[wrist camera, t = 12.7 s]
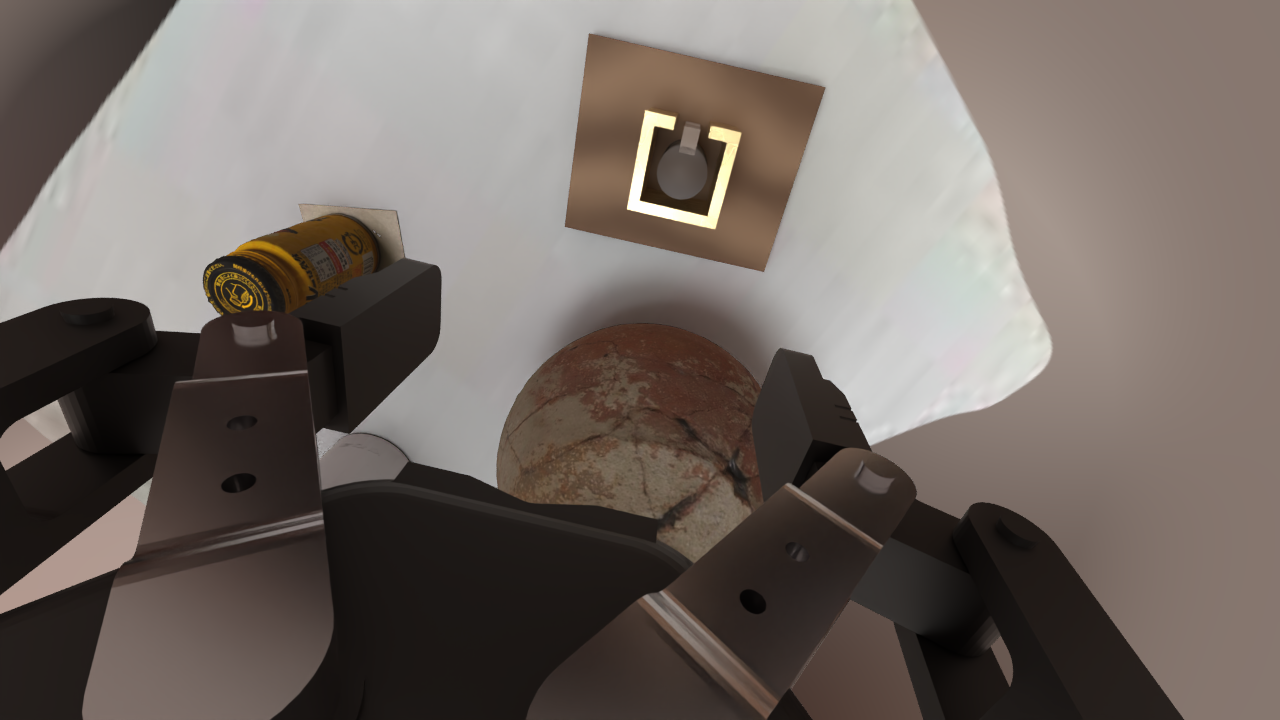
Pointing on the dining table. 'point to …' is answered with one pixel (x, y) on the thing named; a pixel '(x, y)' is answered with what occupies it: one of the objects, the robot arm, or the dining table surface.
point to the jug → (639, 433)
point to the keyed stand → (686, 149)
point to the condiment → (303, 259)
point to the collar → (659, 200)
